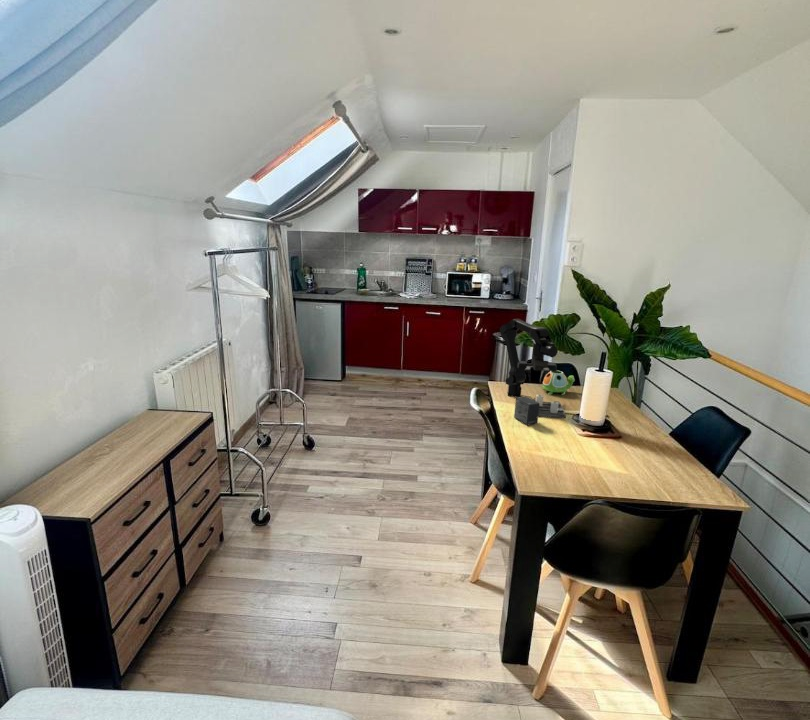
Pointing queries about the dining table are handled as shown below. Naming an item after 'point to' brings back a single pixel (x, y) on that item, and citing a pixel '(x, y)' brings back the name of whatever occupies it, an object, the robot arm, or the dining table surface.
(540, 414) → the console
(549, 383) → the turtle holder
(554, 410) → the fader
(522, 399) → the small box
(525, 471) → the dining table surface
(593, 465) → the dining table surface
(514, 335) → the robot arm
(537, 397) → the fader
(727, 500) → the dining table surface
